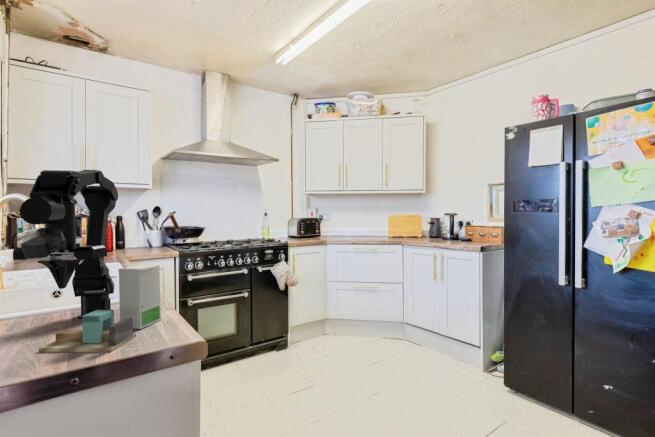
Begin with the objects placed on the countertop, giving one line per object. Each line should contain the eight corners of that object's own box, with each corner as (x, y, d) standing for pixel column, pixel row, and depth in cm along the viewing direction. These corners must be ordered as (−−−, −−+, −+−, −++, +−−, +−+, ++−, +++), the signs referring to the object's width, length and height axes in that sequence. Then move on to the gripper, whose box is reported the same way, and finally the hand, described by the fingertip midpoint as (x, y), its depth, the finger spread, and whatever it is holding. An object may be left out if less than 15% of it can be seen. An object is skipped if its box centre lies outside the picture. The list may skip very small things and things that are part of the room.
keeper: (82, 342, 76) (82, 316, 75) (97, 335, 80) (97, 309, 80) (100, 342, 75) (99, 316, 75) (114, 335, 80) (113, 309, 80)
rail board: (38, 351, 74) (38, 328, 73) (70, 336, 83) (70, 316, 82) (111, 351, 73) (111, 328, 73) (136, 336, 82) (135, 315, 82)
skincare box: (139, 330, 87) (138, 269, 86) (117, 328, 88) (116, 268, 88) (162, 319, 95) (161, 264, 94) (141, 318, 96) (140, 263, 96)
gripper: (-13, 224, 73) (-10, 297, 73) (73, 224, 73) (75, 296, 73) (33, 223, 84) (35, 285, 85) (107, 222, 84) (109, 285, 84)
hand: (62, 288), depth 81 cm, fingers closed
